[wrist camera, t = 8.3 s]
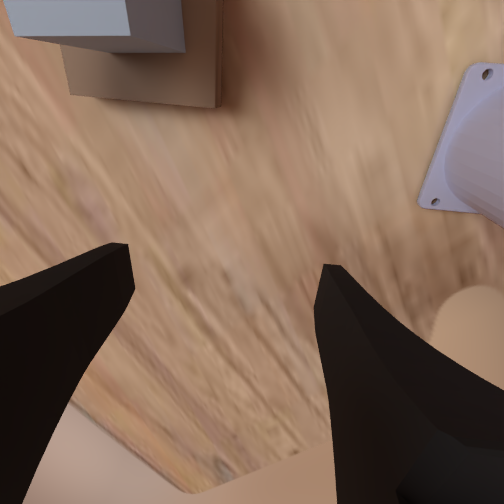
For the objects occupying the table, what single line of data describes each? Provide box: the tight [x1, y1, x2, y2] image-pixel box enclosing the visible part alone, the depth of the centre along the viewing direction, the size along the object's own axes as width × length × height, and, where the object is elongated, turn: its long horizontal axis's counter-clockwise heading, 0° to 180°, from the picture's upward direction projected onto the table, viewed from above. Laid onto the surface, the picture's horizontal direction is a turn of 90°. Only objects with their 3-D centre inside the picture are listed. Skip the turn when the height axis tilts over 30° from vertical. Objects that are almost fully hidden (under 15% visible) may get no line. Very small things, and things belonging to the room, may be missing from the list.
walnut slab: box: [60, 0, 223, 108], centre depth 15 cm, size 8×8×2 cm
